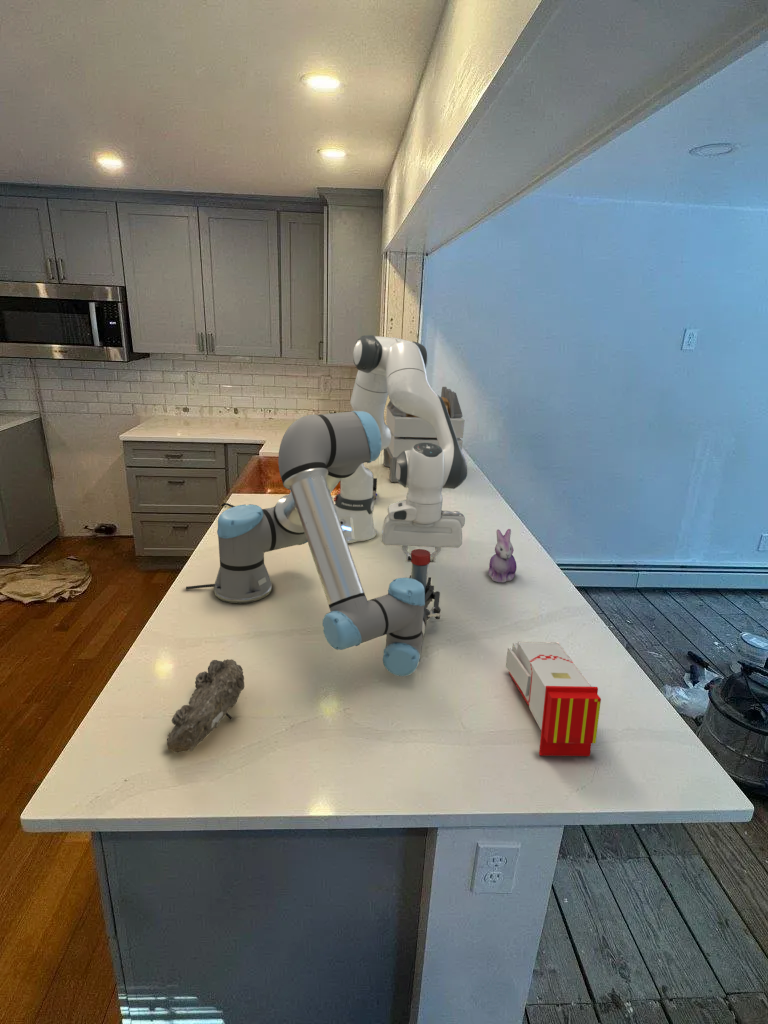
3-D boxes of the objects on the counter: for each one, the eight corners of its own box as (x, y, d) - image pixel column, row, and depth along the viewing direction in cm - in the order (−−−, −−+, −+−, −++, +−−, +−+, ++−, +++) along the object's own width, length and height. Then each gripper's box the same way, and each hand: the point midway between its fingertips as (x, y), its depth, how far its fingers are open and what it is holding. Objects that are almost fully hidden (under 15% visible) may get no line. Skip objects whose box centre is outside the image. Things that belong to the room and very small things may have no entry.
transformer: (382, 463, 289) (386, 382, 275) (445, 464, 293) (451, 384, 279) (390, 482, 257) (394, 392, 243) (460, 483, 261) (468, 394, 247)
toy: (554, 624, 127) (610, 694, 97) (548, 679, 130) (602, 763, 100) (500, 623, 126) (541, 693, 97) (496, 678, 129) (534, 763, 100)
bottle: (414, 606, 152) (418, 550, 146) (427, 611, 149) (432, 554, 144) (405, 611, 149) (409, 554, 143) (418, 617, 146) (422, 559, 141)
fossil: (192, 660, 117) (244, 628, 112) (224, 691, 120) (276, 661, 115) (142, 746, 98) (202, 712, 93) (182, 779, 101) (242, 748, 96)
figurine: (500, 586, 164) (506, 538, 159) (479, 572, 173) (484, 526, 168) (525, 580, 169) (532, 534, 164) (503, 567, 177) (509, 522, 172)
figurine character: (377, 508, 228) (376, 492, 242) (377, 490, 225) (377, 476, 238) (360, 507, 228) (361, 492, 242) (360, 490, 225) (361, 475, 238)
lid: (406, 562, 143) (407, 553, 143) (416, 555, 147) (416, 547, 147) (424, 567, 141) (425, 558, 140) (433, 560, 145) (434, 551, 144)
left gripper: (371, 634, 133) (387, 589, 154) (445, 644, 130) (451, 597, 152) (372, 606, 130) (389, 564, 152) (448, 615, 128) (453, 571, 149)
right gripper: (464, 507, 143) (459, 557, 147) (382, 504, 142) (380, 554, 147) (467, 516, 137) (462, 568, 141) (382, 512, 136) (380, 564, 141)
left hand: (420, 580), depth 152 cm, fingers closed on bottle, 4 cm apart
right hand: (420, 561), depth 144 cm, fingers closed on lid, 5 cm apart
